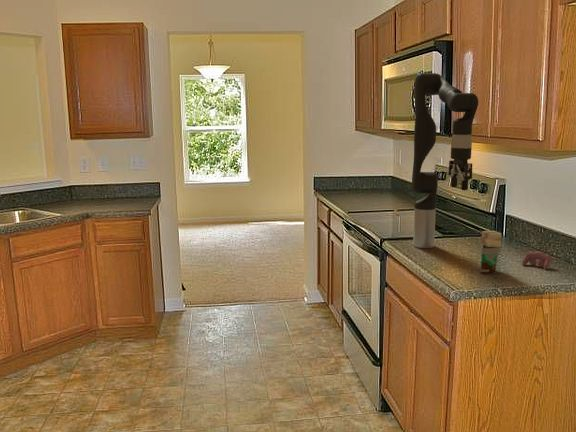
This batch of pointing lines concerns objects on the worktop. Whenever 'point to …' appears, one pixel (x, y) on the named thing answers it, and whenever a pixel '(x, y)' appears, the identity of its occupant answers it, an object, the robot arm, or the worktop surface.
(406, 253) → the worktop surface
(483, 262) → the food container
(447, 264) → the worktop surface
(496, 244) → the birch cube
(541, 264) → the pink toy figure
